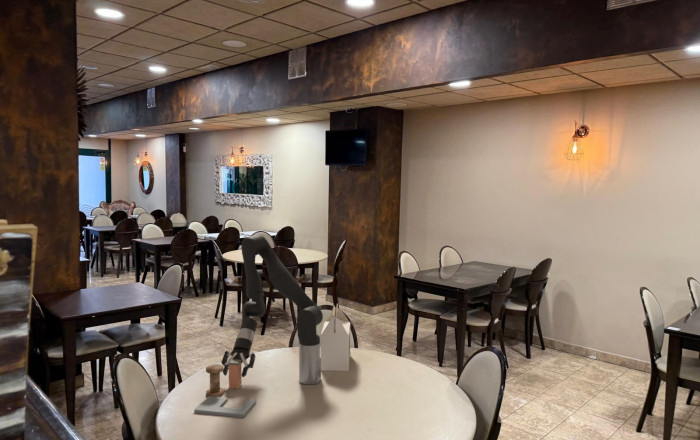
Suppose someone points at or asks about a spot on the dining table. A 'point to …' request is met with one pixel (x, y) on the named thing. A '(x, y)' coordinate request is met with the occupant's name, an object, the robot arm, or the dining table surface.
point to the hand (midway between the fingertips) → (233, 375)
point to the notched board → (215, 407)
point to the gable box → (335, 342)
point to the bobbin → (214, 380)
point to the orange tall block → (235, 373)
